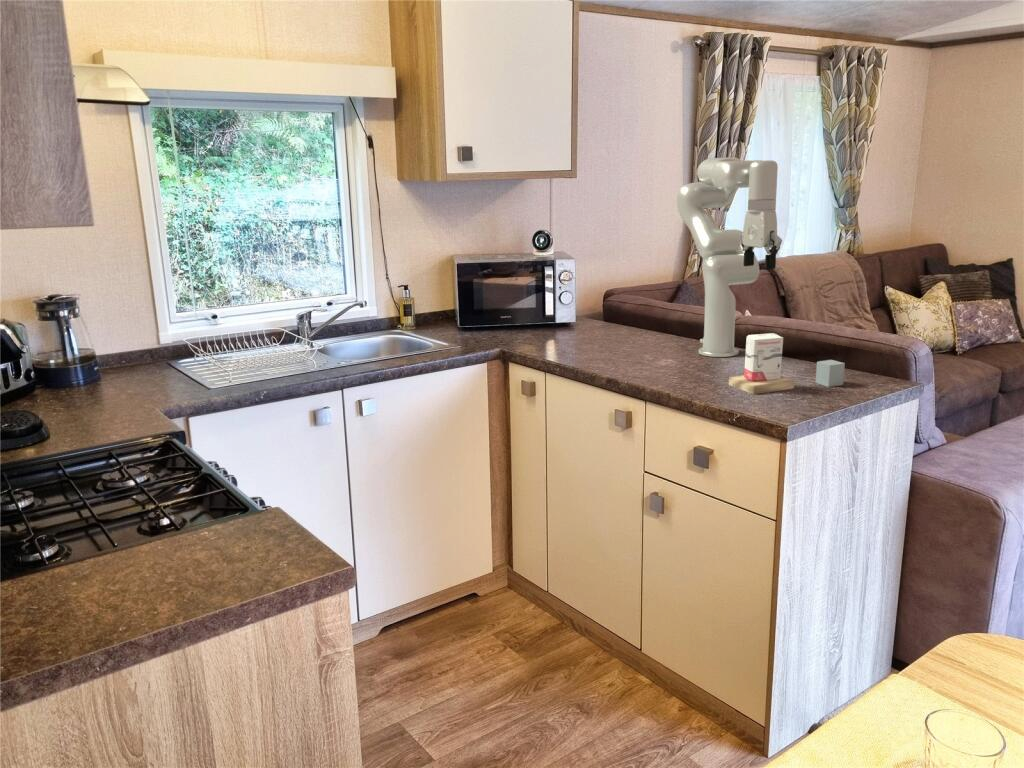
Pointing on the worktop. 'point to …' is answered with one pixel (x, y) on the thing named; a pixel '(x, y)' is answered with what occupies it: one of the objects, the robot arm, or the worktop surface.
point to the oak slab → (761, 384)
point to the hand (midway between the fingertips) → (759, 267)
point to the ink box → (763, 357)
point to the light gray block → (830, 373)
